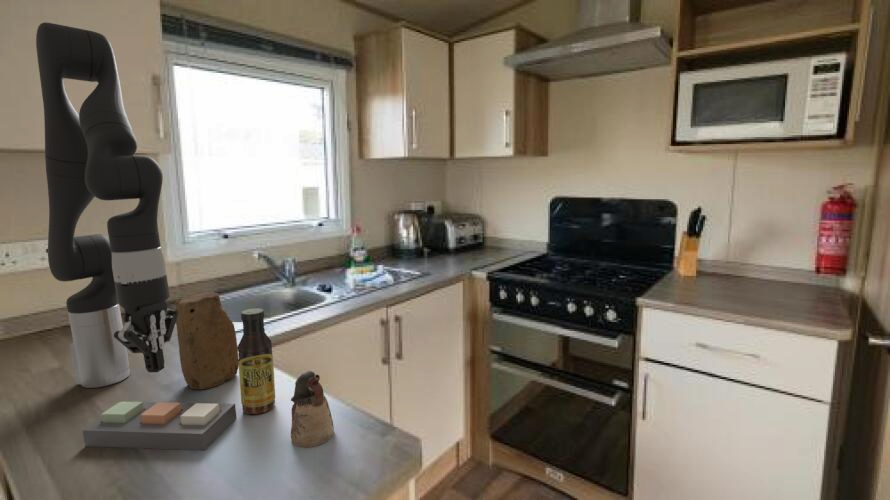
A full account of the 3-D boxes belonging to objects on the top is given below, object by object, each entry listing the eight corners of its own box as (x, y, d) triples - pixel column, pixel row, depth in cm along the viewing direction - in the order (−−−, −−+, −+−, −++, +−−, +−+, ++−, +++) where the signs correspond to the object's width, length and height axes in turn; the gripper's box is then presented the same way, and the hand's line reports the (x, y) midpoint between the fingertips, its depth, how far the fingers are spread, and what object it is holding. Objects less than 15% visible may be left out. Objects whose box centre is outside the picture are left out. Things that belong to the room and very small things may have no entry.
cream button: (181, 426, 81) (180, 415, 81) (197, 413, 86) (196, 403, 85) (205, 427, 81) (204, 416, 81) (220, 413, 85) (218, 403, 85)
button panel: (85, 446, 81) (82, 430, 80) (129, 415, 91) (126, 401, 90) (204, 450, 78) (202, 433, 78) (236, 418, 88) (234, 403, 88)
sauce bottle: (243, 419, 88) (231, 318, 84) (241, 405, 93) (229, 309, 90) (280, 410, 91) (270, 312, 87) (275, 397, 96) (265, 304, 93)
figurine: (318, 420, 87) (312, 359, 84) (342, 433, 82) (337, 369, 80) (283, 438, 81) (277, 374, 79) (307, 453, 77) (301, 385, 75)
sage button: (103, 424, 83) (101, 414, 83) (122, 411, 87) (120, 401, 87) (125, 424, 82) (124, 414, 82) (144, 411, 87) (142, 402, 86)
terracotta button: (142, 425, 82) (140, 414, 82) (159, 412, 86) (158, 402, 86) (165, 426, 82) (163, 415, 81) (181, 412, 86) (180, 402, 86)
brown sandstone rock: (192, 395, 98) (179, 303, 94) (181, 384, 103) (169, 297, 100) (244, 377, 105) (234, 292, 102) (231, 368, 111) (221, 287, 107)
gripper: (148, 267, 86) (162, 355, 89) (87, 285, 73) (106, 388, 76) (186, 266, 85) (199, 355, 88) (131, 284, 73) (148, 388, 76)
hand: (156, 370), depth 82 cm, fingers closed
